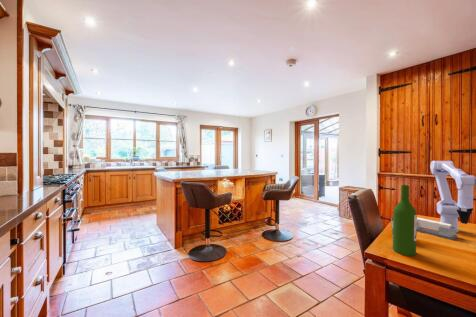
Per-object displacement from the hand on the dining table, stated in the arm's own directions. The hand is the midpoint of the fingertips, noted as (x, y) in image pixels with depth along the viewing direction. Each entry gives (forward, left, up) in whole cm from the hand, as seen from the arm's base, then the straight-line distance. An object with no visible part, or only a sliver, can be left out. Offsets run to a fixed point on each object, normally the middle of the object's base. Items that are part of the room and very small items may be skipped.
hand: (464, 221), depth 115 cm
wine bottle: (+44, -12, -10) cm, 47 cm away
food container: (+26, -19, -10) cm, 34 cm away
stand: (+2, -14, -10) cm, 17 cm away
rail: (+2, -14, -7) cm, 16 cm away
